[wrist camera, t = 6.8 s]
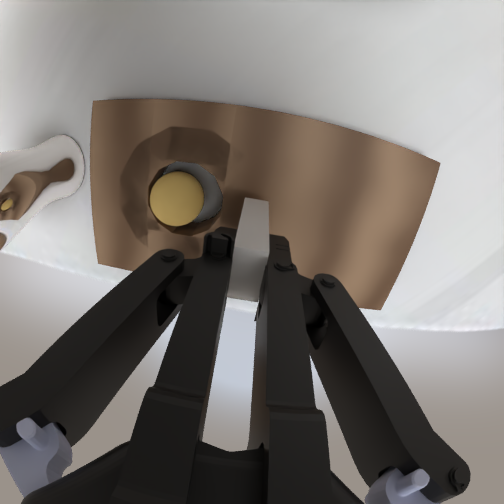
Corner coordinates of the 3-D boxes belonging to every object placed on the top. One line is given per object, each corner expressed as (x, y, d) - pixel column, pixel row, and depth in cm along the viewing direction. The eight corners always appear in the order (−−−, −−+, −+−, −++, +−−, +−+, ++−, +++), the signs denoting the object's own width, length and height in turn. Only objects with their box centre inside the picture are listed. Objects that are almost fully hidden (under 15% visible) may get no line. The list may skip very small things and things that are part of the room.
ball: (148, 185, 20) (131, 204, 17) (185, 155, 19) (175, 168, 16) (178, 221, 22) (168, 245, 19) (216, 194, 21) (213, 215, 18)
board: (110, 250, 24) (98, 263, 22) (109, 100, 17) (92, 100, 15) (373, 293, 25) (380, 310, 23) (424, 156, 18) (440, 163, 16)
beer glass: (74, 116, 18) (-72, 163, 4) (99, 184, 21) (-30, 280, 8) (31, 151, 19) (-85, 211, 6) (54, 209, 22) (-49, 296, 9)
